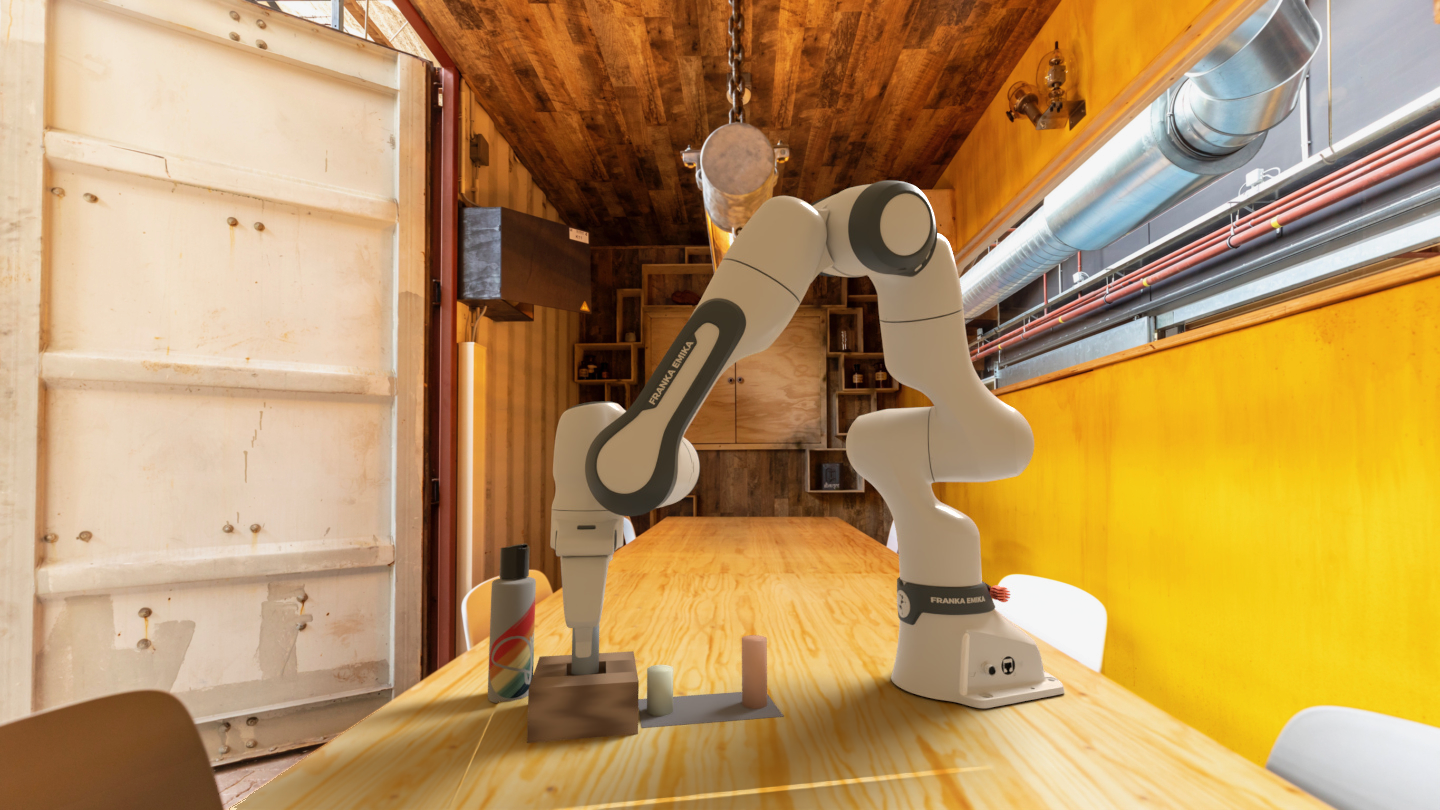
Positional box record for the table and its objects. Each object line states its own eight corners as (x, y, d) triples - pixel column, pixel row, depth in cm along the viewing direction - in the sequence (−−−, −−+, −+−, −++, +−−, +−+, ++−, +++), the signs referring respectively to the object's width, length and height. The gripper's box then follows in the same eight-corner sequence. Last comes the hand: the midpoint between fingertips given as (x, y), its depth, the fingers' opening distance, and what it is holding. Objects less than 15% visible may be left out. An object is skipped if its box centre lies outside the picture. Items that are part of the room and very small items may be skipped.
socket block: (632, 698, 80) (633, 651, 81) (637, 737, 69) (638, 681, 69) (538, 705, 78) (539, 656, 79) (526, 746, 67) (528, 688, 67)
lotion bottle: (518, 705, 78) (523, 546, 80) (478, 702, 79) (484, 545, 81) (540, 690, 84) (544, 541, 86) (502, 687, 85) (507, 540, 87)
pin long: (598, 669, 75) (600, 552, 79) (598, 673, 72) (600, 551, 76) (571, 671, 75) (574, 553, 78) (570, 675, 71) (574, 552, 75)
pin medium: (763, 698, 79) (763, 634, 80) (770, 707, 76) (769, 641, 77) (739, 700, 79) (739, 635, 80) (745, 709, 76) (744, 642, 76)
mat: (764, 693, 82) (764, 690, 82) (784, 719, 73) (784, 716, 74) (637, 702, 79) (637, 699, 79) (641, 731, 70) (641, 727, 70)
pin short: (671, 705, 77) (671, 664, 78) (674, 715, 74) (674, 672, 75) (645, 707, 76) (646, 665, 77) (647, 717, 73) (648, 673, 74)
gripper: (566, 525, 85) (563, 628, 84) (554, 542, 65) (550, 676, 64) (612, 525, 87) (609, 626, 85) (614, 541, 67) (611, 673, 65)
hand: (584, 648), depth 74 cm, fingers open, 5 cm apart
